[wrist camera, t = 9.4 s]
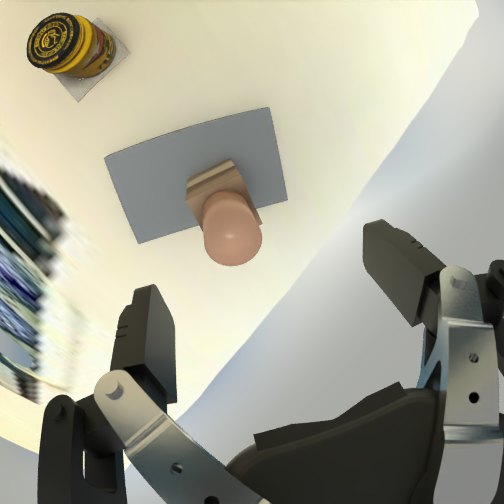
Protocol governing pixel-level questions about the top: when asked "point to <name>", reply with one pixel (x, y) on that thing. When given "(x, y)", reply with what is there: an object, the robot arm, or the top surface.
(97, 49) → the condiment
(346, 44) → the top surface
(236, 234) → the pink cylinder
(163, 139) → the board
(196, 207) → the block top
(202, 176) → the block base
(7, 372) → the top surface
